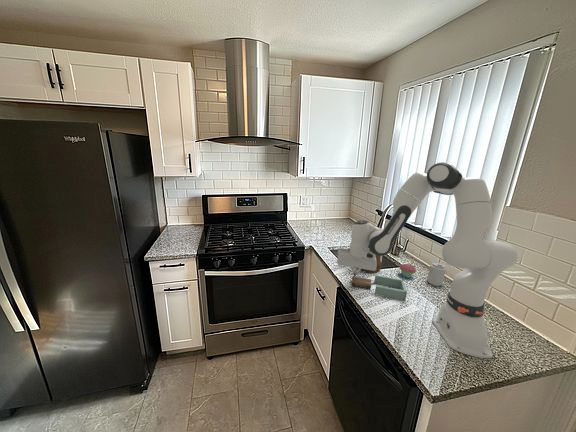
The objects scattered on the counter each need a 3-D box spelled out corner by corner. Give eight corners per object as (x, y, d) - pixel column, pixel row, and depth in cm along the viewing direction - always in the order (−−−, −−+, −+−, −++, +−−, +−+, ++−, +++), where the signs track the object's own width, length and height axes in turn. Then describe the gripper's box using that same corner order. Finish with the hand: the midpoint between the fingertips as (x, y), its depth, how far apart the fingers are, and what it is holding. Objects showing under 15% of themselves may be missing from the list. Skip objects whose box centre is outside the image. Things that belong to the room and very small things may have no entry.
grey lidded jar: (434, 287, 129) (439, 267, 126) (423, 280, 136) (427, 261, 133) (445, 286, 131) (450, 266, 128) (434, 279, 138) (438, 260, 135)
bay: (405, 300, 116) (407, 292, 115) (374, 294, 120) (376, 286, 119) (401, 287, 128) (403, 279, 127) (374, 282, 132) (375, 274, 131)
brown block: (370, 290, 124) (372, 281, 122) (351, 286, 127) (352, 277, 125) (370, 283, 130) (371, 275, 128) (351, 280, 133) (352, 271, 131)
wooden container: (385, 272, 144) (391, 238, 138) (364, 274, 139) (369, 239, 133) (370, 261, 157) (375, 229, 151) (350, 263, 153) (354, 231, 147)
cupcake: (412, 273, 143) (416, 255, 140) (415, 280, 135) (420, 261, 132) (397, 271, 145) (400, 253, 142) (399, 278, 137) (403, 259, 134)
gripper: (337, 249, 124) (334, 273, 128) (378, 256, 118) (374, 280, 122) (338, 245, 130) (336, 268, 133) (378, 251, 124) (374, 275, 128)
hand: (355, 274), depth 128 cm, fingers closed
